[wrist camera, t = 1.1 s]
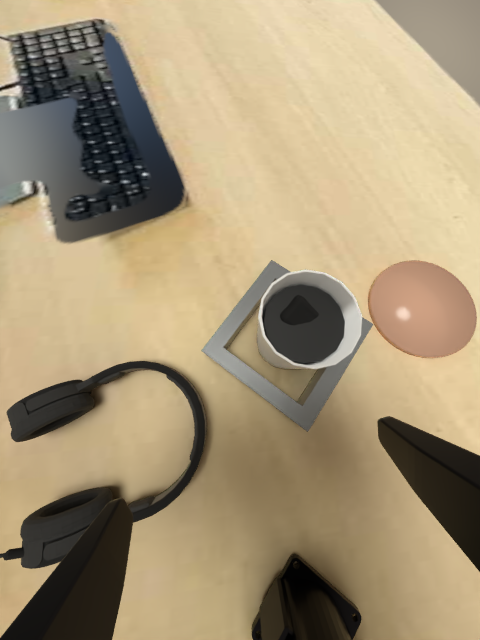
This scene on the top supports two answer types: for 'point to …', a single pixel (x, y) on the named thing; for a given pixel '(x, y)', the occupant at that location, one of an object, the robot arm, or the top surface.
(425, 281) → the coaster
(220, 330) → the cup holder
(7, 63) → the top surface
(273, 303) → the grey cup
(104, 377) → the headset
